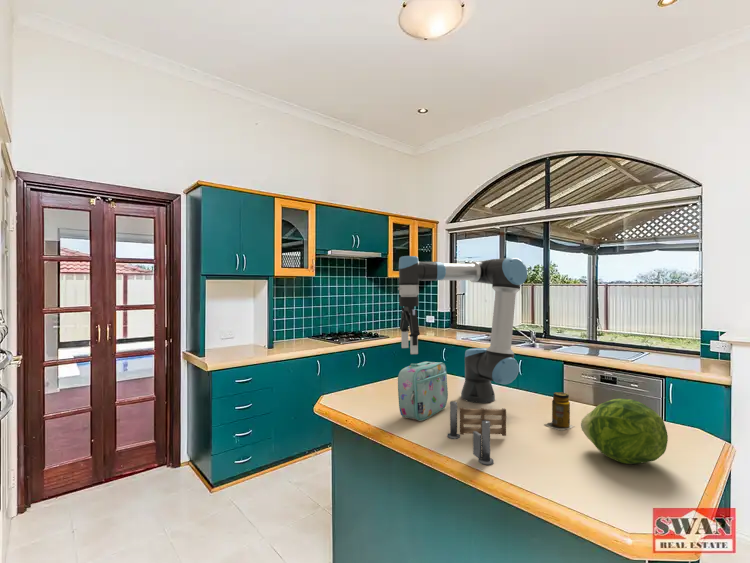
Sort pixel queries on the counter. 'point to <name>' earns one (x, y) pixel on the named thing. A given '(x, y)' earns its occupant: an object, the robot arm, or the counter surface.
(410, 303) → the robot arm
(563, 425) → the condiment
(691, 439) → the counter surface
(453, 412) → the hinge post
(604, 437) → the lettuce
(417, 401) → the lunch box
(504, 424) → the gate
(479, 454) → the post
